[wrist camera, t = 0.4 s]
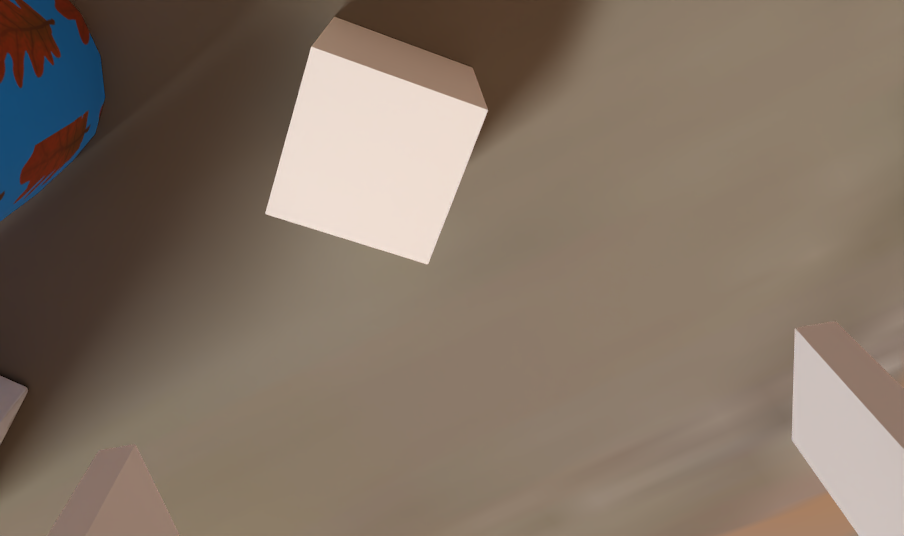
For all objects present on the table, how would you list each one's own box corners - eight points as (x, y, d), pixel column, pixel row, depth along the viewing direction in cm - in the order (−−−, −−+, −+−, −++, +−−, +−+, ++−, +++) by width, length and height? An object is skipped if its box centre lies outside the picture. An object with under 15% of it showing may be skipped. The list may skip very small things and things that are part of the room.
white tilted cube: (295, 152, 34) (265, 213, 27) (334, 16, 31) (311, 46, 24) (425, 194, 35) (427, 264, 28) (472, 67, 32) (488, 110, 26)
